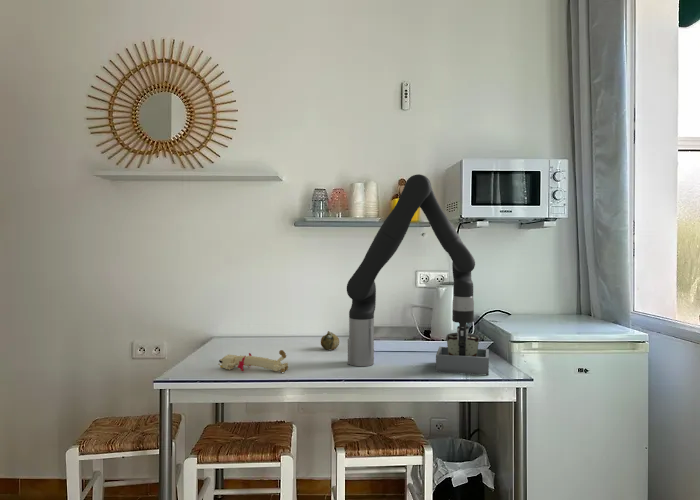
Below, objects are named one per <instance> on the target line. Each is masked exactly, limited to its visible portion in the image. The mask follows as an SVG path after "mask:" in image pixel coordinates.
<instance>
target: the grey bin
mask: <svg viewBox="0 0 700 500" xmlns="http://www.w3.org/2000/svg"><path fill="white" fill-rule="evenodd" d="M489 355H490V351H489V348H478V352H477V357H473V356H455V355H448V346H439V347H438V350H437V351H436V354H435V372H436V373H445V374H447V373H450V374H460V373H465V375H476V374H486V375H485V376H489V371H490V370H489V367H490V365H489V363H490V358H489V357H490V356H489Z"/></svg>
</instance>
